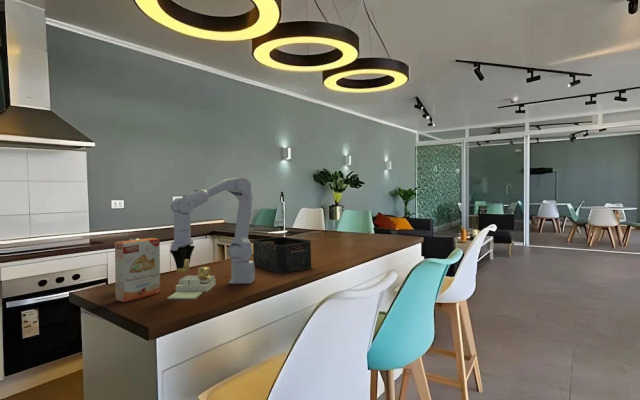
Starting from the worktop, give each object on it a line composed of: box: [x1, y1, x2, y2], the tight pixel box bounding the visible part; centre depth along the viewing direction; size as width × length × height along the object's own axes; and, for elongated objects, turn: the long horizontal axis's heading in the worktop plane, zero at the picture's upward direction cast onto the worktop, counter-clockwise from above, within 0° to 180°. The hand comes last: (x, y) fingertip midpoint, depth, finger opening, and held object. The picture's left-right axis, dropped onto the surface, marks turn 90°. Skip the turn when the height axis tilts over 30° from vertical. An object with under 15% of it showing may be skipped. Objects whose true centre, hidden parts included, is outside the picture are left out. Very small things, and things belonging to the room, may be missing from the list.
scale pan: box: [178, 275, 216, 283], centre depth 140 cm, size 12×8×1 cm, turn 88°
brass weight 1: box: [175, 259, 190, 273], centre depth 130 cm, size 4×4×4 cm
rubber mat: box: [166, 291, 203, 300], centre depth 129 cm, size 10×7×1 cm
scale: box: [175, 278, 217, 293], centre depth 139 cm, size 12×10×5 cm
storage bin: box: [252, 236, 312, 274], centre depth 177 cm, size 29×19×13 cm
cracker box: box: [114, 237, 161, 303], centre depth 128 cm, size 14×6×21 cm, turn 148°
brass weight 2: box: [197, 266, 211, 279], centre depth 140 cm, size 4×4×4 cm
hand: (183, 266), depth 130 cm, fingers closed on brass weight 1, 4 cm apart
